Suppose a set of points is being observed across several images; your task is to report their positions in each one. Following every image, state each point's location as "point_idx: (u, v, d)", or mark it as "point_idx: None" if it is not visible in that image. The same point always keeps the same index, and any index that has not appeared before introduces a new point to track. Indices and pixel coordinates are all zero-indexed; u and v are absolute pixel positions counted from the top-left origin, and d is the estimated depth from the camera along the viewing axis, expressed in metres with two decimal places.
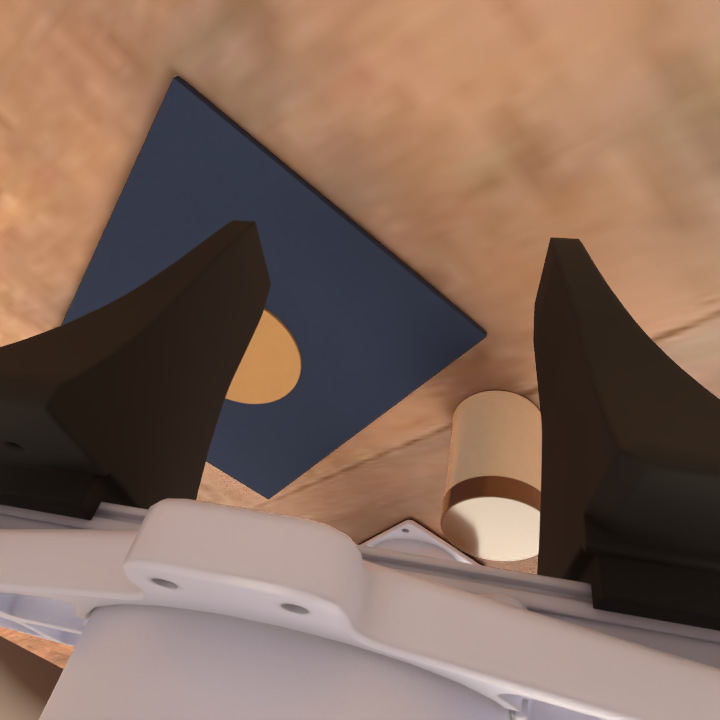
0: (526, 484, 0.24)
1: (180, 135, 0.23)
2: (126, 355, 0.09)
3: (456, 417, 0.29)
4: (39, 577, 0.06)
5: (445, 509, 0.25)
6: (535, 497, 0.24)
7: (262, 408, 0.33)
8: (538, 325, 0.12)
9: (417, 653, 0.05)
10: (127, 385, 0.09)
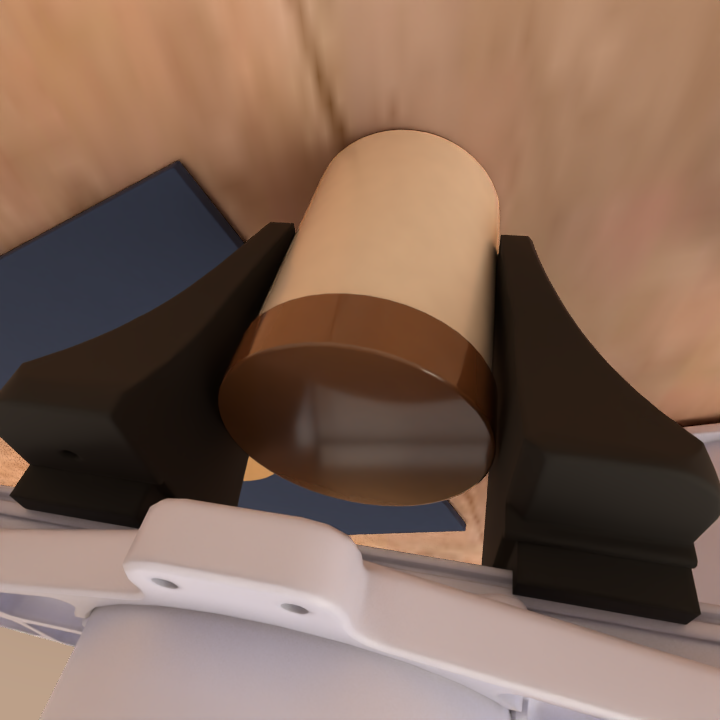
0: (261, 316, 0.09)
1: None
2: (180, 361, 0.09)
3: None
4: (39, 577, 0.06)
5: None
6: (269, 326, 0.09)
7: None
8: None
9: (416, 654, 0.05)
10: (181, 391, 0.09)
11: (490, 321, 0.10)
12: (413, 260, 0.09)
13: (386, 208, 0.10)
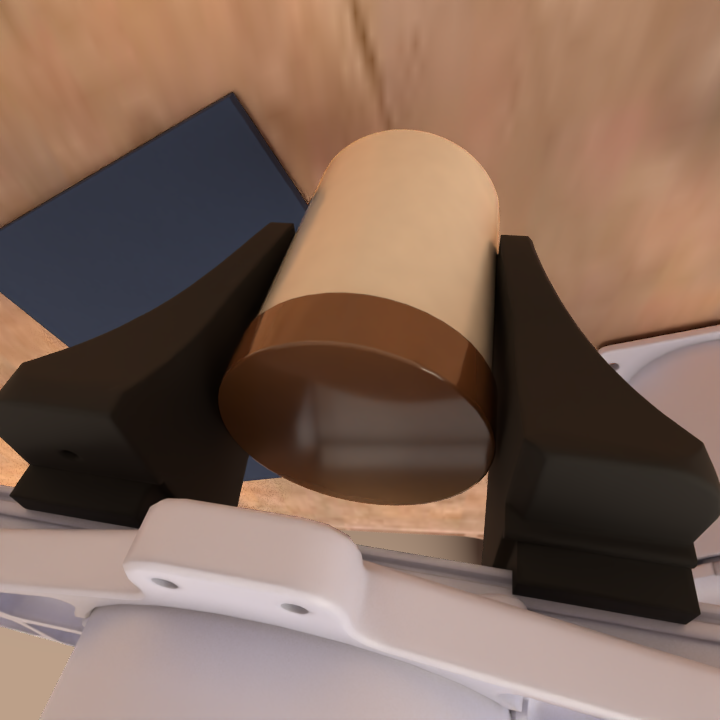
0: (261, 315, 0.09)
1: (3, 278, 0.26)
2: (180, 361, 0.09)
3: None
4: (39, 577, 0.06)
5: None
6: (269, 325, 0.09)
7: None
8: None
9: (417, 654, 0.05)
10: (181, 391, 0.09)
11: (490, 320, 0.10)
12: (413, 259, 0.09)
13: (386, 207, 0.10)
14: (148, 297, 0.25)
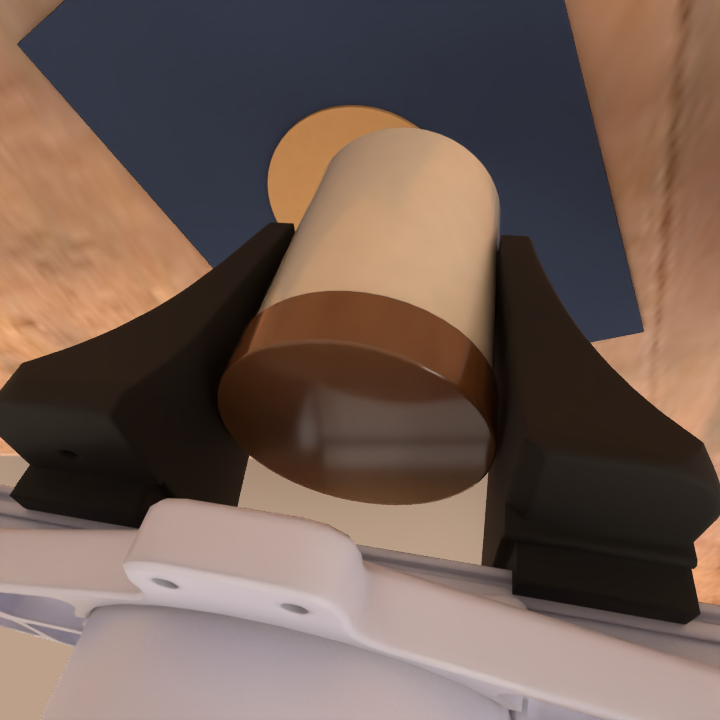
0: (260, 314, 0.09)
1: (76, 78, 0.20)
2: (180, 361, 0.09)
3: None
4: (39, 577, 0.06)
5: None
6: (269, 324, 0.09)
7: None
8: None
9: (417, 652, 0.05)
10: (181, 391, 0.09)
11: (491, 319, 0.10)
12: (414, 257, 0.09)
13: (386, 206, 0.10)
14: (267, 90, 0.19)
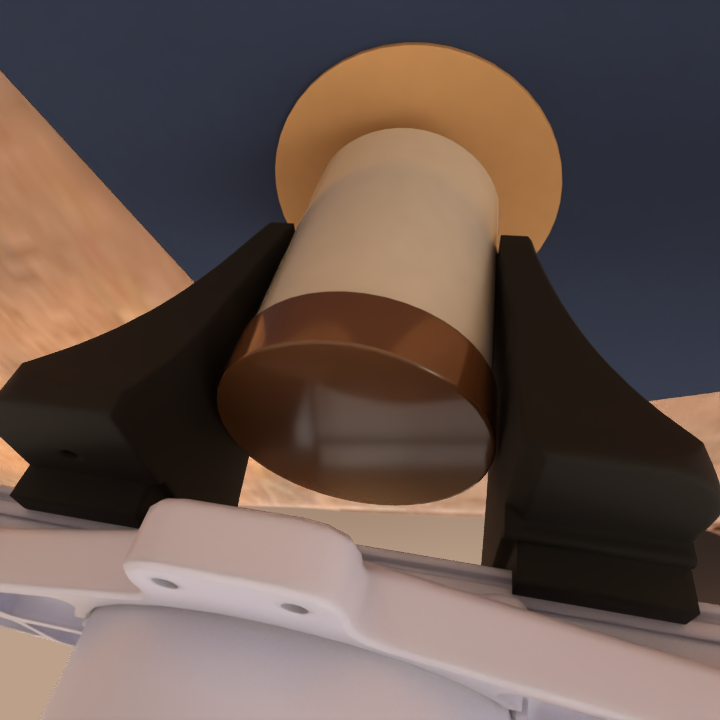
0: (259, 314, 0.09)
1: None
2: (180, 361, 0.09)
3: None
4: (39, 577, 0.06)
5: None
6: (268, 324, 0.09)
7: (568, 237, 0.15)
8: None
9: (416, 652, 0.05)
10: (182, 391, 0.09)
11: (490, 319, 0.10)
12: (412, 257, 0.09)
13: (386, 206, 0.10)
14: (277, 19, 0.12)
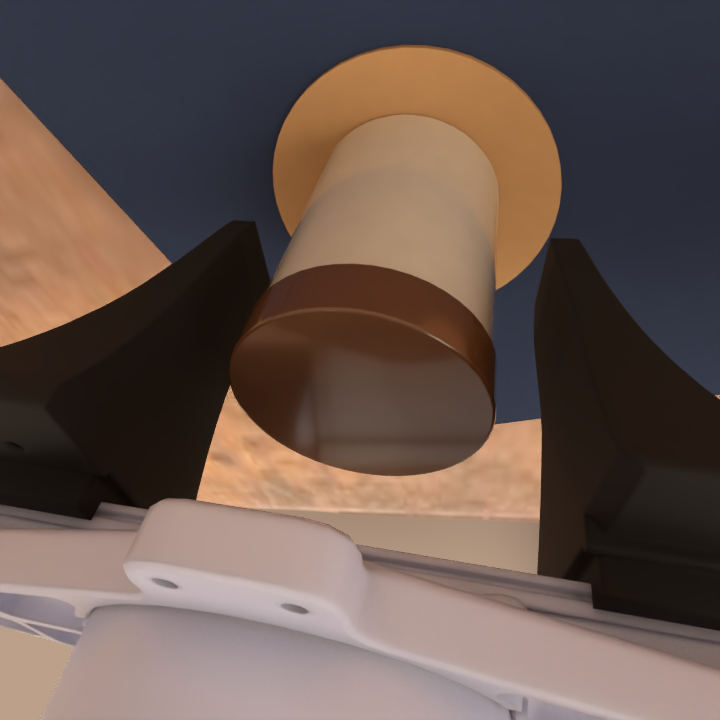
0: (271, 288, 0.10)
1: None
2: (126, 355, 0.09)
3: None
4: (39, 577, 0.06)
5: None
6: (279, 295, 0.09)
7: None
8: (538, 325, 0.12)
9: (417, 652, 0.05)
10: (128, 385, 0.09)
11: (490, 295, 0.11)
12: (416, 234, 0.10)
13: (390, 187, 0.11)
14: (274, 21, 0.12)
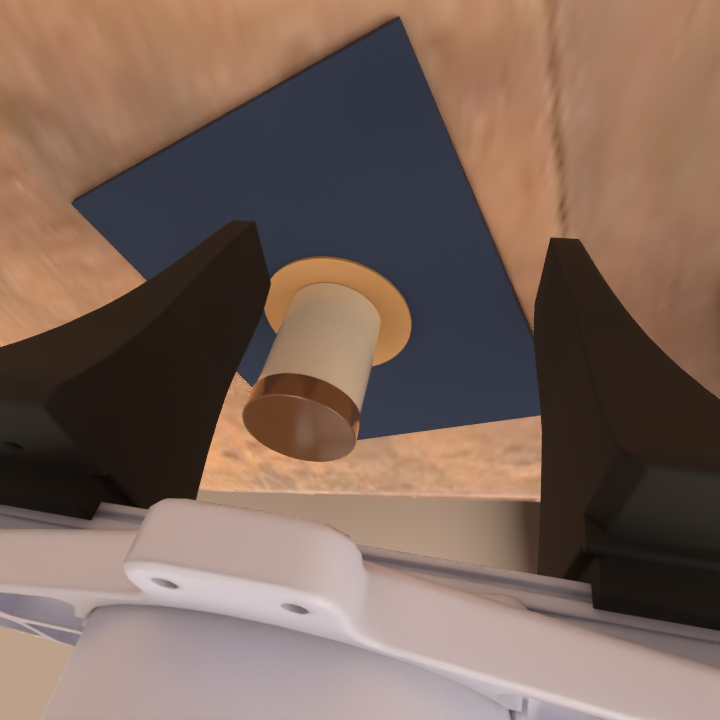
0: (260, 380, 0.23)
1: (115, 226, 0.26)
2: (126, 355, 0.09)
3: None
4: (39, 577, 0.06)
5: None
6: (263, 386, 0.22)
7: (420, 337, 0.28)
8: (538, 325, 0.12)
9: (417, 652, 0.05)
10: (128, 385, 0.09)
11: (359, 379, 0.24)
12: (322, 357, 0.23)
13: (314, 331, 0.24)
14: (263, 243, 0.25)
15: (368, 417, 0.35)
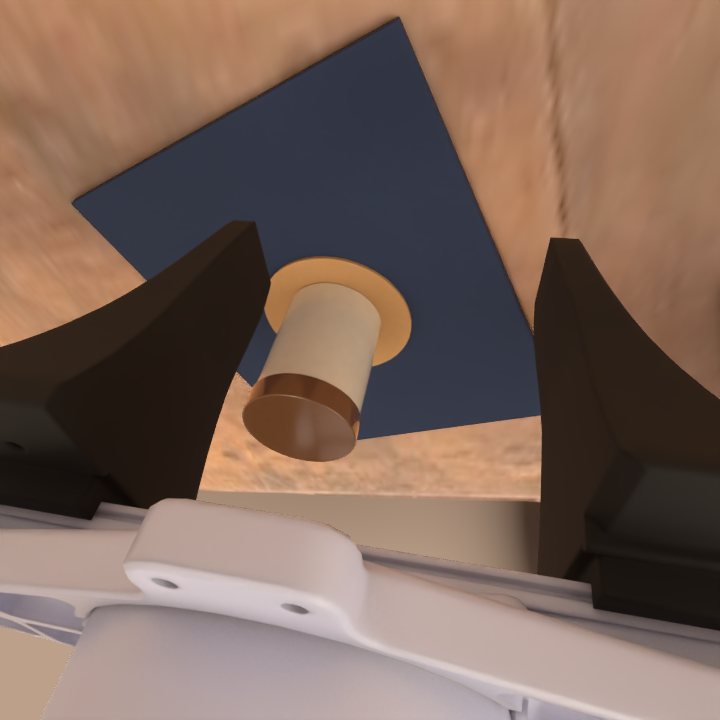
0: (260, 380, 0.23)
1: (115, 226, 0.26)
2: (126, 355, 0.09)
3: None
4: (39, 577, 0.06)
5: None
6: (263, 386, 0.22)
7: (420, 337, 0.28)
8: (538, 325, 0.12)
9: (416, 652, 0.05)
10: (128, 385, 0.09)
11: (359, 379, 0.24)
12: (322, 357, 0.23)
13: (314, 331, 0.24)
14: (263, 243, 0.25)
15: (368, 417, 0.35)
